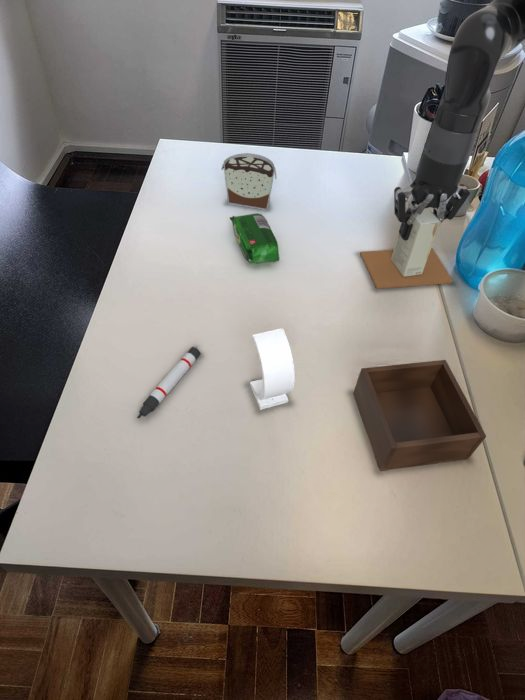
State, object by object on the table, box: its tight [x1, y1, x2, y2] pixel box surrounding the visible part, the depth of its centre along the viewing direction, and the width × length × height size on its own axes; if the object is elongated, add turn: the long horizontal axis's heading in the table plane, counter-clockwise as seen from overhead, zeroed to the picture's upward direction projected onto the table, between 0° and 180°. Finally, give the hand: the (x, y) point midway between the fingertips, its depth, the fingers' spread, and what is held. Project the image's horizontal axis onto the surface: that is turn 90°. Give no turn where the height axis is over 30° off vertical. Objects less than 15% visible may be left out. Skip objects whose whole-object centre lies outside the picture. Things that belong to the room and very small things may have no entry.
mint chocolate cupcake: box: [221, 152, 277, 211], centre depth 107 cm, size 12×6×10 cm, turn 77°
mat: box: [359, 247, 454, 290], centre depth 97 cm, size 16×11×1 cm
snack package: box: [229, 212, 280, 265], centre depth 97 cm, size 7×16×5 cm, turn 17°
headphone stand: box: [249, 327, 296, 411], centre depth 70 cm, size 5×6×12 cm
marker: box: [136, 346, 201, 419], centre depth 74 cm, size 15×2×2 cm, turn 152°
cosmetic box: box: [391, 206, 442, 277], centre depth 92 cm, size 6×4×12 cm
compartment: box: [352, 359, 487, 472], centre depth 70 cm, size 14×14×7 cm
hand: (416, 236), depth 91 cm, fingers closed on cosmetic box, 4 cm apart
